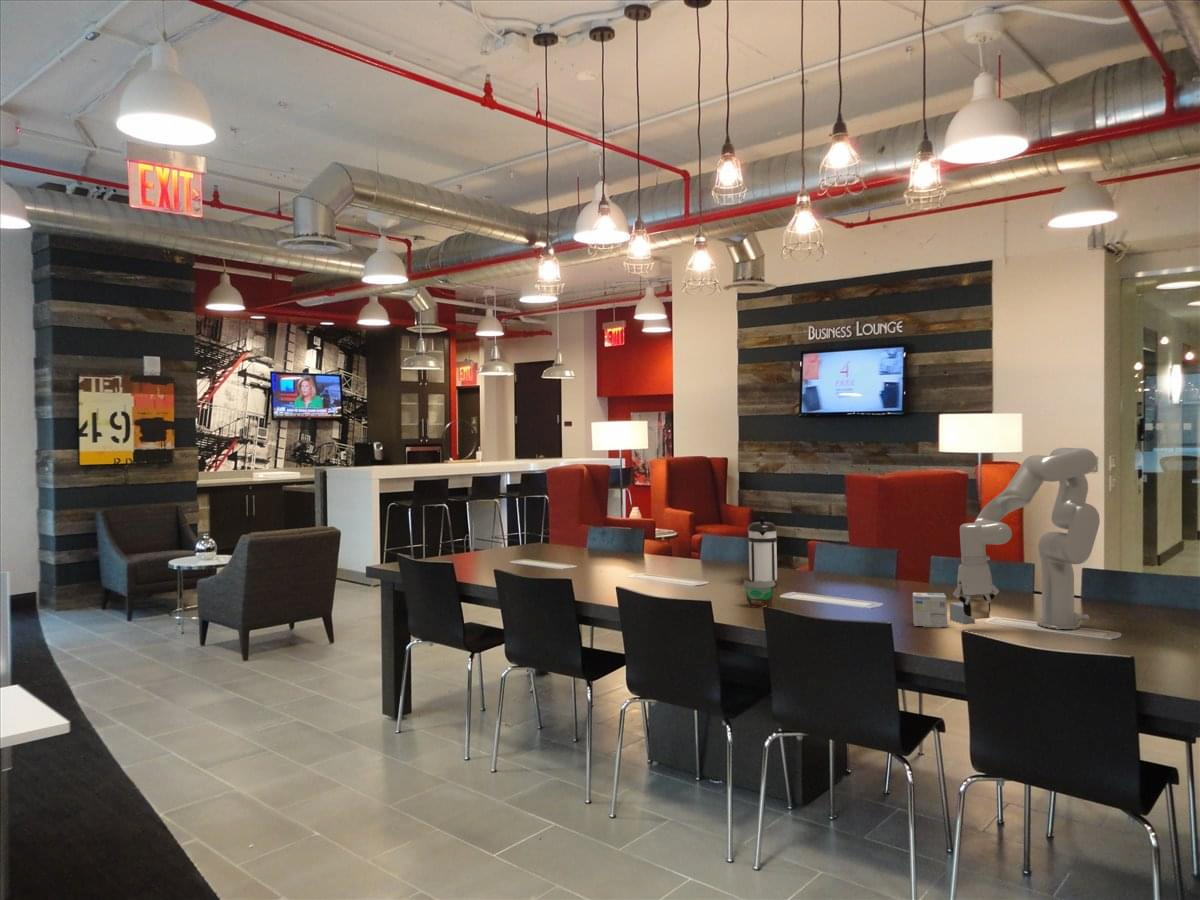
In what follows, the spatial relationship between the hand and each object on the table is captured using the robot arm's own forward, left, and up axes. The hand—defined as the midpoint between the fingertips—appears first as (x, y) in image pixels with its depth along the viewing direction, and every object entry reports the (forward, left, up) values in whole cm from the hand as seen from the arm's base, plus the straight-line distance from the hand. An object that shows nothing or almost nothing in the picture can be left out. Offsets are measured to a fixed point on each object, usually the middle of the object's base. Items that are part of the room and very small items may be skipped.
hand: (977, 614), depth 278 cm
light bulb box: (+12, -9, -6) cm, 16 cm away
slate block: (-1, -13, -5) cm, 14 cm away
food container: (+63, -46, -6) cm, 78 cm away
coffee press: (+52, -93, -6) cm, 107 cm away
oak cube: (0, 0, -1) cm, 1 cm away
